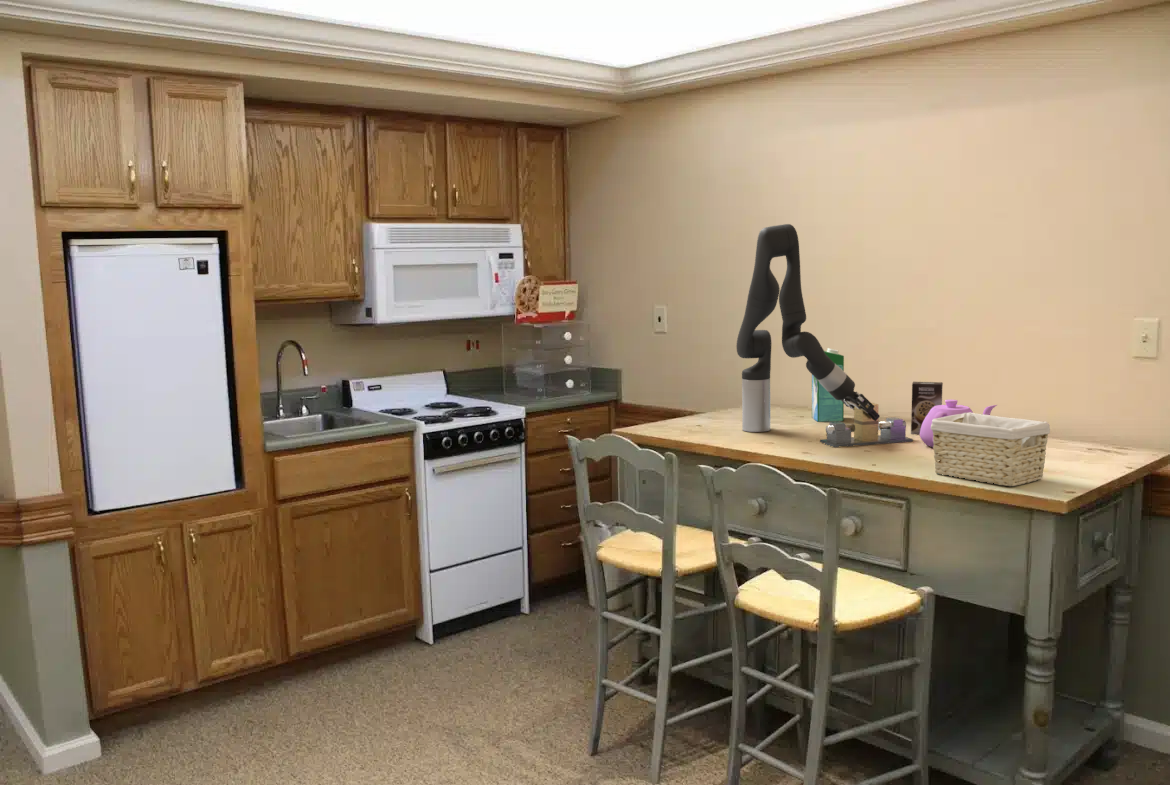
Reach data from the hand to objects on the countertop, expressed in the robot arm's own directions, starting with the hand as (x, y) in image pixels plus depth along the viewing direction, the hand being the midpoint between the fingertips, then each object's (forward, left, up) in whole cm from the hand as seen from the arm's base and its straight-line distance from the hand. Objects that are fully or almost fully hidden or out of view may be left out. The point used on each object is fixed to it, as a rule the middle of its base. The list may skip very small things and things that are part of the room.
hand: (870, 416), depth 290 cm
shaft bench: (0, -1, -8) cm, 8 cm away
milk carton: (-43, -4, -8) cm, 44 cm away
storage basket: (+50, +17, -8) cm, 54 cm away
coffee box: (-13, +21, -8) cm, 26 cm away
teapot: (+11, +23, -8) cm, 27 cm away
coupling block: (0, -1, -7) cm, 7 cm away
